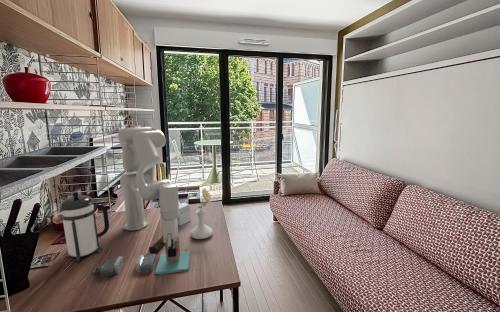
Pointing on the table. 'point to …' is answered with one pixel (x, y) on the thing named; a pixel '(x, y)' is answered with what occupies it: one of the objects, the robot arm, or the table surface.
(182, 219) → the small box
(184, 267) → the mat
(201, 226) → the flower in vase
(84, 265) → the table surface
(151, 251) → the brown wooden branch
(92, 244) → the coffee press
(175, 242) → the wooden block
